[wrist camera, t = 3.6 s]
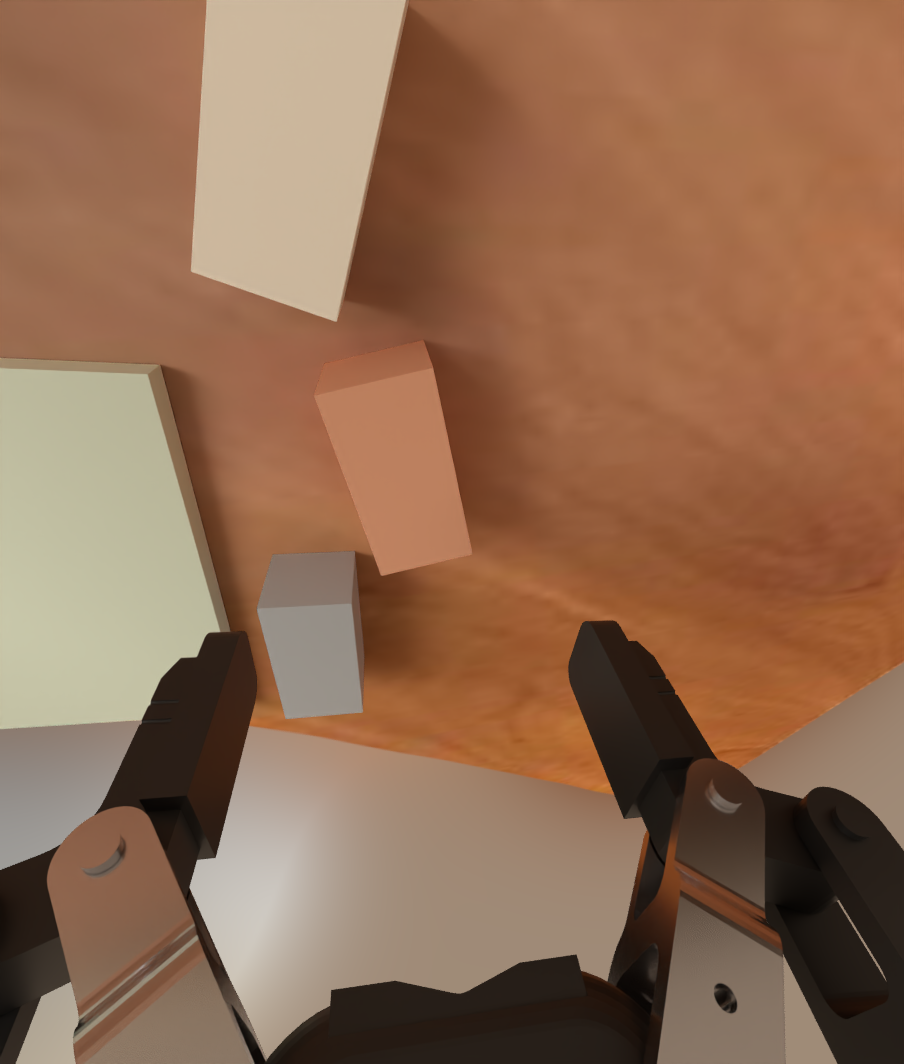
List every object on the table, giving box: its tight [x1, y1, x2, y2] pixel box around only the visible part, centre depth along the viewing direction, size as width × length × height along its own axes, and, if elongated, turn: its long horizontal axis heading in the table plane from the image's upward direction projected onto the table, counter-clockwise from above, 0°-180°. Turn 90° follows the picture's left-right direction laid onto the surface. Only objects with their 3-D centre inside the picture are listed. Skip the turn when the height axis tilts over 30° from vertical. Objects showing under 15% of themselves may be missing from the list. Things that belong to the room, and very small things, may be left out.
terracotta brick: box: [314, 340, 472, 576], centre depth 19 cm, size 8×4×4 cm, turn 11°
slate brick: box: [257, 551, 364, 719], centre depth 24 cm, size 8×4×4 cm, turn 177°
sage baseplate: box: [0, 358, 231, 729], centre depth 22 cm, size 20×16×1 cm
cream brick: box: [191, 0, 409, 322], centre depth 13 cm, size 8×4×4 cm, turn 160°
